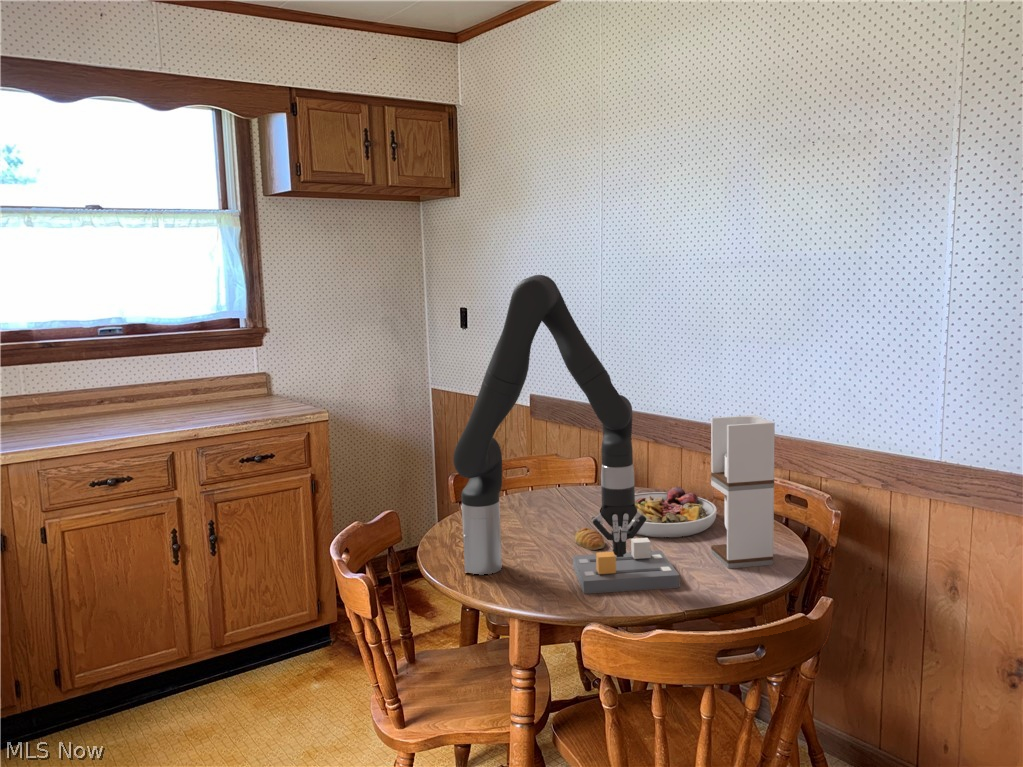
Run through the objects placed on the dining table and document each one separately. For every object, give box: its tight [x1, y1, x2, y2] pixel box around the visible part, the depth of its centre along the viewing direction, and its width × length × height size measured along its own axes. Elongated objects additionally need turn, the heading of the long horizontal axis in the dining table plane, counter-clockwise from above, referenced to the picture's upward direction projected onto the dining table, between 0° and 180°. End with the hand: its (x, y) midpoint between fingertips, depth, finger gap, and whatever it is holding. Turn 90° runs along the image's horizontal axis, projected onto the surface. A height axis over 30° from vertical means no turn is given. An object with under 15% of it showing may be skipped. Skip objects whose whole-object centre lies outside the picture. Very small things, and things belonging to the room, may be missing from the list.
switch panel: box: [572, 550, 681, 595], centre depth 187 cm, size 22×16×3 cm
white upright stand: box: [710, 414, 776, 569], centre depth 193 cm, size 11×11×35 cm
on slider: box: [630, 537, 652, 559], centre depth 190 cm, size 4×3×4 cm
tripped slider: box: [595, 551, 616, 574], centre depth 182 cm, size 4×3×4 cm
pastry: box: [574, 527, 606, 551], centre depth 209 cm, size 9×7×4 cm
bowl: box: [628, 485, 717, 539], centre depth 225 cm, size 30×30×8 cm
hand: (619, 555), depth 182 cm, fingers closed
